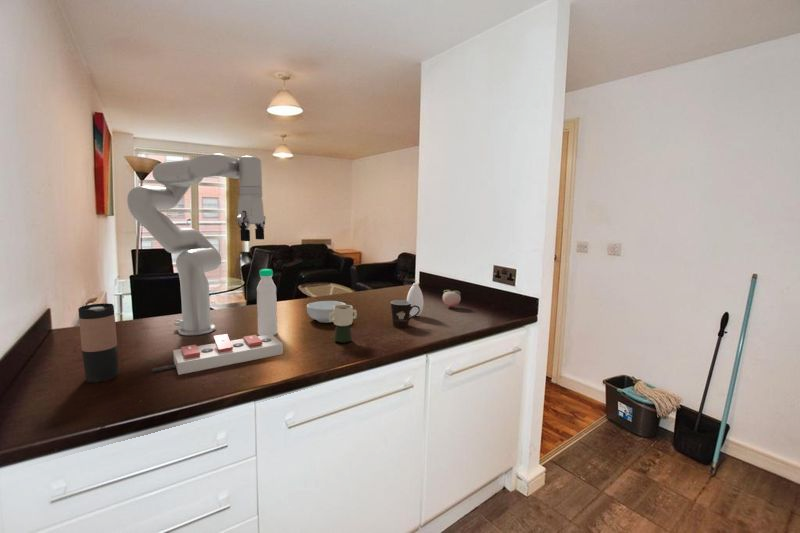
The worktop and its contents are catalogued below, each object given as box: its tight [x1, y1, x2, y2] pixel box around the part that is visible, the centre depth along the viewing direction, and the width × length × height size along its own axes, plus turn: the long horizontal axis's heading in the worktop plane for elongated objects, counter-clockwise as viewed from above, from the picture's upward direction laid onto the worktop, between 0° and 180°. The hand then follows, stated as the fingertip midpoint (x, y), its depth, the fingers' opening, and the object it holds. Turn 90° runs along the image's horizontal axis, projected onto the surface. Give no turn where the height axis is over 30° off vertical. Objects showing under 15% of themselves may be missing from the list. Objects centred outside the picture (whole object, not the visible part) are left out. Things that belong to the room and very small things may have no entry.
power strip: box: [151, 334, 284, 376], centre depth 119 cm, size 36×12×4 cm, turn 126°
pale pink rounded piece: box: [442, 289, 462, 309], centre depth 191 cm, size 9×8×10 cm
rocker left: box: [180, 344, 200, 358], centre depth 114 cm, size 4×8×1 cm, turn 36°
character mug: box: [329, 304, 358, 343], centre depth 137 cm, size 11×7×13 cm, turn 122°
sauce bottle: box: [406, 278, 424, 317], centre depth 173 cm, size 8×8×18 cm
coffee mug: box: [390, 299, 420, 329], centre depth 158 cm, size 12×9×10 cm
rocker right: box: [242, 334, 262, 347], centre depth 124 cm, size 4×8×1 cm, turn 36°
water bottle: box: [256, 268, 278, 336], centre depth 142 cm, size 7×7×25 cm
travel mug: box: [77, 302, 120, 383], centre depth 103 cm, size 8×8×20 cm
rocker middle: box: [213, 333, 233, 352], centre depth 118 cm, size 4×8×1 cm, turn 36°
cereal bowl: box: [306, 300, 347, 324], centre depth 164 cm, size 17×17×7 cm
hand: (252, 240), depth 137 cm, fingers open, 9 cm apart
